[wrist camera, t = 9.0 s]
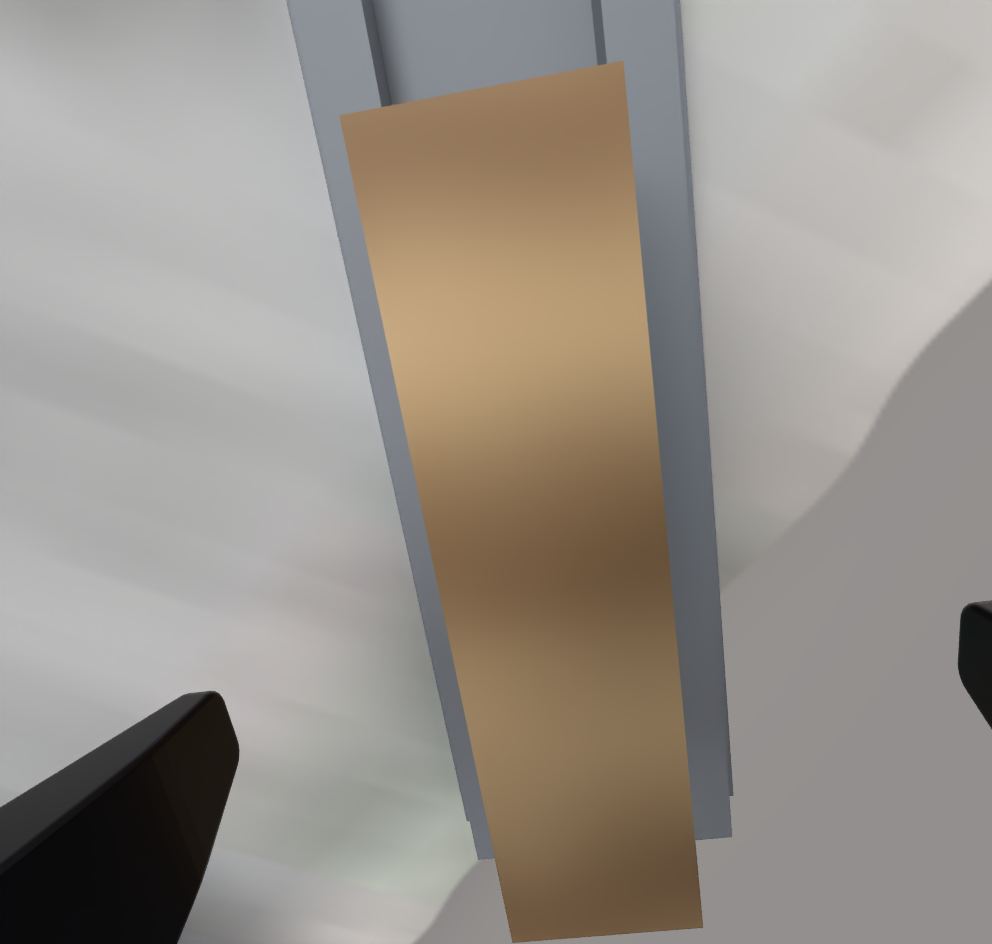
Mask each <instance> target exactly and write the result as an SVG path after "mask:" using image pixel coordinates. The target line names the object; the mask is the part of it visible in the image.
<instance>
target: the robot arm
mask: <svg viewBox="0 0 992 944" xmlns="http://www.w3.org/2000/svg"><path fill="white" fill-rule="evenodd" d="M958 669H959V675H960V678H961V680H962V683H963V685H964V687H965V688H966V690H967V692H968V693H969V695H970V696H971V698H972V699H973V701H974V703H975V704H976V705H977V707H978V709H979V710H980V712H981V713H982V715H983V716H984V718H985V720H986V721H987V722H988V724H989V726H990V727H991V729H992V600H991V601H983V602H974V603H970V604H968V605H967V606H965V607H964V608H963V610H962V613H961V619H960V635H959V653H958ZM238 761H239V744H238V740H237V737H236V734H235V731H234V728H233V725H232V722H231V720H230V717H229V714H228V711H227V708H226V705H225V702H224V700H223V698H222V696H221V695H220V694H219V693H217V692H215V691H206V692H197V693H188V694H185V695H183V696H181V697H179V698H177V699H176V700H174V701H172V702H171V703H169V704H168V705H166V706H164V707H163V708H161V709H159V710H158V711H156V712H155V713H153V714H151V715H150V716H148V717H146V718H145V719H143V720H142V721H140V722H138V723H137V724H135V725H133V726H132V727H130V728H129V729H127V730H125V731H124V732H122V733H120V734H119V735H117V736H116V737H114V738H112V739H111V740H109V741H107V742H106V743H104V744H103V745H101V746H99V747H98V748H96V749H94V750H93V751H91V752H90V753H88V754H86V755H85V756H83V757H81V758H80V759H78V760H77V761H75V762H73V763H72V764H70V765H68V766H67V767H65V768H64V769H62V770H60V771H59V772H57V773H55V774H54V775H52V776H51V777H49V778H47V779H46V780H44V781H42V782H41V783H39V784H38V785H36V786H34V787H33V788H31V789H29V790H28V791H26V792H25V793H23V794H21V795H20V796H18V797H16V798H15V799H13V800H12V801H10V802H8V803H7V804H5V805H3V806H2V807H0V944H177V943H178V940H179V938H180V936H181V933H182V931H183V928H184V926H185V923H186V921H187V918H188V916H189V914H190V911H191V909H192V906H193V904H194V901H195V898H196V896H197V893H198V891H199V888H200V885H201V883H202V880H203V877H204V874H205V871H206V868H207V865H208V862H209V859H210V855H211V852H212V849H213V845H214V842H215V839H216V835H217V832H218V829H219V825H220V822H221V819H222V815H223V812H224V809H225V806H226V802H227V799H228V796H229V792H230V789H231V786H232V782H233V779H234V776H235V772H236V769H237V766H238Z"/></svg>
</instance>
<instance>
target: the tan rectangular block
mask: <svg viewBox="0 0 992 944" xmlns="http://www.w3.org/2000/svg"><path fill="white" fill-rule="evenodd" d="M339 117H340V122H341V127H342V132H343V136H344V141H345V146H346V151H347V155H348V160H349V165H350V170H351V174H352V179H353V184H354V189H355V194H356V198H357V203H358V208H359V213H360V217H361V222H362V227H363V232H364V236H365V241H366V246H367V251H368V256H369V260H370V265H371V270H372V275H373V279H374V284H375V289H376V294H377V298H378V303H379V308H380V313H381V318H382V322H383V327H384V332H385V337H386V341H387V346H388V351H389V356H390V360H391V365H392V370H393V375H394V380H395V384H396V389H397V394H398V399H399V403H400V408H401V413H402V418H403V422H404V427H405V432H406V437H407V442H408V446H409V451H410V456H411V461H412V465H413V470H414V475H415V480H416V484H417V489H418V494H419V499H420V504H421V508H422V513H423V518H424V523H425V527H426V532H427V537H428V542H429V546H430V551H431V556H432V561H433V566H434V570H435V575H436V580H437V585H438V589H439V594H440V599H441V604H442V608H443V613H444V618H445V623H446V628H447V632H448V637H449V642H450V647H451V651H452V656H453V661H454V666H455V670H456V675H457V680H458V685H459V690H460V694H461V699H462V704H463V709H464V713H465V718H466V723H467V728H468V732H469V737H470V742H471V747H472V752H473V756H474V761H475V766H476V771H477V775H478V780H479V785H480V790H481V794H482V799H483V804H484V809H485V814H486V818H487V823H488V828H489V833H490V837H491V842H492V847H493V852H494V856H495V861H496V866H497V871H498V876H499V880H500V885H501V890H502V895H503V899H504V904H505V909H506V913H507V918H508V923H509V928H510V932H511V937H512V942H513V943H515V942H528V941H540V940H553V939H566V938H579V937H591V936H604V935H616V934H629V933H641V932H653V931H667V930H679V929H691V928H703V922H702V910H701V899H700V888H699V878H698V866H697V856H696V845H695V833H694V823H693V812H692V801H691V790H690V779H689V768H688V757H687V746H686V736H685V725H684V714H683V703H682V692H681V681H680V670H679V659H678V649H677V638H676V627H675V616H674V605H673V594H672V583H671V572H670V561H669V551H668V540H667V529H666V518H665V507H664V496H663V485H662V474H661V464H660V453H659V442H658V431H657V420H656V409H655V398H654V387H653V377H652V366H651V355H650V344H649V333H648V322H647V311H646V300H645V290H644V279H643V268H642V257H641V246H640V235H639V224H638V213H637V203H636V192H635V181H634V170H633V159H632V148H631V137H630V126H629V116H628V105H627V94H626V83H625V72H624V61H618V62H613V63H608V64H603V65H597V66H592V67H587V68H582V69H577V70H572V71H566V72H561V73H556V74H551V75H546V76H541V77H535V78H530V79H525V80H520V81H515V82H510V83H504V84H499V85H494V86H489V87H484V88H479V89H473V90H468V91H463V92H458V93H453V94H448V95H442V96H437V97H432V98H427V99H422V100H417V101H411V102H406V103H401V104H396V105H391V106H386V107H380V108H375V109H370V110H365V111H360V112H355V113H349V114H344V115H339Z"/></svg>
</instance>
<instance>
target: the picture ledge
mask: <svg viewBox="0 0 992 944" xmlns="http://www.w3.org/2000/svg"><path fill="white" fill-rule="evenodd" d="M286 1H287V6H288V10H289V15H290V19H291V24H292V29H293V33H294V38H295V42H296V47H297V51H298V56H299V60H300V65H301V69H302V74H303V79H304V83H305V88H306V92H307V97H308V101H309V106H310V110H311V115H312V119H313V124H314V128H315V133H316V138H317V142H318V147H319V151H320V156H321V160H322V165H323V169H324V174H325V178H326V183H327V188H328V192H329V197H330V201H331V206H332V210H333V215H334V219H335V224H336V228H337V233H338V237H339V242H340V247H341V251H342V256H343V260H344V265H345V269H346V274H347V278H348V283H349V287H350V292H351V297H352V301H353V306H354V310H355V315H356V319H357V324H358V328H359V333H360V337H361V342H362V346H363V351H364V356H365V360H366V365H367V369H368V374H369V378H370V383H371V387H372V392H373V396H374V401H375V406H376V410H377V415H378V419H379V424H380V428H381V433H382V437H383V442H384V446H385V451H386V455H387V460H388V465H389V469H390V474H391V478H392V483H393V487H394V492H395V496H396V501H397V505H398V510H399V515H400V519H401V524H402V528H403V533H404V537H405V542H406V546H407V551H408V555H409V560H410V564H411V569H412V574H413V578H414V583H415V587H416V592H417V596H418V601H419V605H420V610H421V614H422V619H423V624H424V628H425V633H426V637H427V642H428V646H429V651H430V655H431V660H432V664H433V669H434V673H435V678H436V683H437V687H438V692H439V696H440V701H441V705H442V710H443V714H444V719H445V723H446V728H447V733H448V737H449V742H450V746H451V751H452V755H453V760H454V764H455V769H456V773H457V778H458V782H459V787H460V792H461V796H462V801H463V805H464V810H465V814H466V819H467V821H470V824H471V829H472V833H473V838H474V843H475V847H476V852H477V856H478V860H481V859H491V858H495V856H494V852H493V847H492V842H491V837H490V833H489V828H488V823H487V818H486V814H485V809H484V804H483V799H482V794H481V790H480V785H479V780H478V775H477V771H476V766H475V761H474V756H473V752H472V747H471V742H470V737H469V732H468V728H467V723H466V718H465V713H464V709H463V704H462V699H461V694H460V690H459V685H458V680H457V675H456V670H455V666H454V661H453V656H452V651H451V647H450V642H449V637H448V632H447V628H446V623H445V618H444V613H443V608H442V604H441V599H440V594H439V589H438V585H437V580H436V575H435V570H434V566H433V561H432V556H431V551H430V546H429V542H428V537H427V532H426V527H425V523H424V518H423V513H422V508H421V504H420V499H419V494H418V489H417V484H416V480H415V475H414V470H413V465H412V461H411V456H410V451H409V446H408V442H407V437H406V432H405V427H404V422H403V418H402V413H401V408H400V403H399V399H398V394H397V389H396V384H395V380H394V375H393V370H392V365H391V360H390V356H389V351H388V346H387V341H386V337H385V332H384V327H383V322H382V318H381V313H380V308H379V303H378V298H377V294H376V289H375V284H374V279H373V275H372V270H371V265H370V260H369V256H368V251H367V246H366V241H365V236H364V232H363V227H362V222H361V217H360V213H359V208H358V203H357V198H356V194H355V189H354V184H353V179H352V174H351V170H350V165H349V160H348V155H347V151H346V146H345V141H344V136H343V132H342V127H341V122H340V117H339V115H344V114H349V113H355V112H360V111H365V110H370V109H375V108H380V107H386V106H391V105H396V104H401V103H406V102H411V101H417V100H422V99H427V98H432V97H437V96H442V95H448V94H453V93H458V92H463V91H468V90H473V89H479V88H484V87H489V86H494V85H499V84H504V83H510V82H515V81H520V80H525V79H530V78H535V77H541V76H546V75H551V74H556V73H561V72H566V71H572V70H577V69H582V68H587V67H592V66H597V65H603V64H608V63H613V62H618V61H624V72H625V83H626V94H627V105H628V116H629V126H630V137H631V148H632V159H633V170H634V181H635V192H636V203H637V213H638V224H639V235H640V246H641V257H642V268H643V279H644V290H645V300H646V311H647V322H648V333H649V344H650V355H651V366H652V377H653V387H654V398H655V409H656V420H657V431H658V442H659V453H660V464H661V474H662V485H663V496H664V507H665V518H666V529H667V540H668V551H669V561H670V572H671V583H672V594H673V605H674V616H675V627H676V638H677V649H678V659H679V670H680V681H681V692H682V703H683V714H684V725H685V736H686V746H687V757H688V768H689V779H690V790H691V801H692V812H693V823H694V833H695V840H703V839H714V838H725V837H732V830H731V814H730V800H729V796H733V784H732V770H731V754H730V741H729V725H728V710H727V696H726V681H725V665H724V650H723V636H722V621H721V606H720V591H719V576H718V561H717V546H716V531H715V516H714V502H713V487H712V472H711V457H710V442H709V427H708V412H707V397H706V383H705V368H704V353H703V338H702V323H701V308H700V293H699V278H698V264H697V249H696V234H695V219H694V204H693V189H692V174H691V159H690V145H689V130H688V115H687V100H686V85H685V70H684V55H683V40H682V26H681V11H680V0H286Z"/></svg>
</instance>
